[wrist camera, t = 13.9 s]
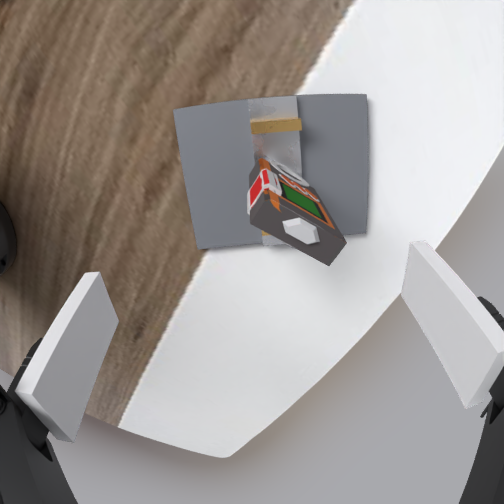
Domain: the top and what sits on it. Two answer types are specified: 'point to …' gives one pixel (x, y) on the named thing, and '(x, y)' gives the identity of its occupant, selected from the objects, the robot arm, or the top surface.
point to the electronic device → (292, 211)
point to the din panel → (242, 162)
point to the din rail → (276, 136)
